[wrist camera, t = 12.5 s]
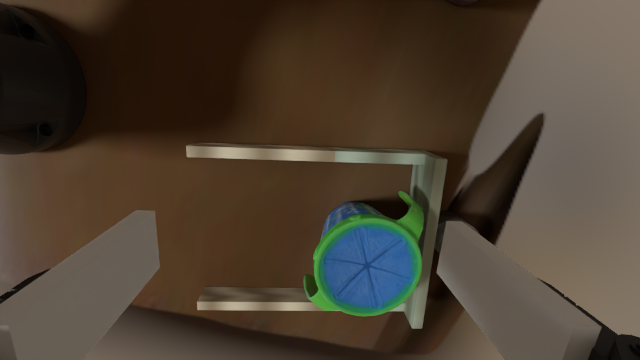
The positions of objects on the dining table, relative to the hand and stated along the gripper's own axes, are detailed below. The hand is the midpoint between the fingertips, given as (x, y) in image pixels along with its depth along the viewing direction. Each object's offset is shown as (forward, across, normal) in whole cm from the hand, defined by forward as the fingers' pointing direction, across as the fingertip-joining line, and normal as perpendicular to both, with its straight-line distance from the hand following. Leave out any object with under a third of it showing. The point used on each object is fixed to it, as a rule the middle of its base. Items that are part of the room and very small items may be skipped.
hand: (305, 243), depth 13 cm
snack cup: (+22, +7, -9) cm, 25 cm away
